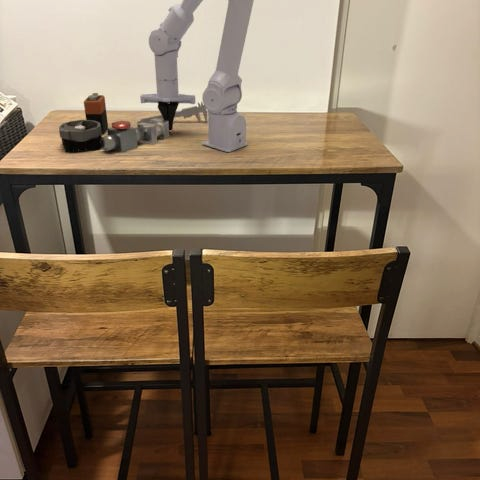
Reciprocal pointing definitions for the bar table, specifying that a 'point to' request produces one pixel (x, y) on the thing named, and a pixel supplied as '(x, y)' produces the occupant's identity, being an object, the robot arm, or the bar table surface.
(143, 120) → the caliper
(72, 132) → the cpu cooler
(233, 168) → the bar table surface
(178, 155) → the bar table surface
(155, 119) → the coupling
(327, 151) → the bar table surface
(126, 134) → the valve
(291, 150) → the bar table surface
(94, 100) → the battery
